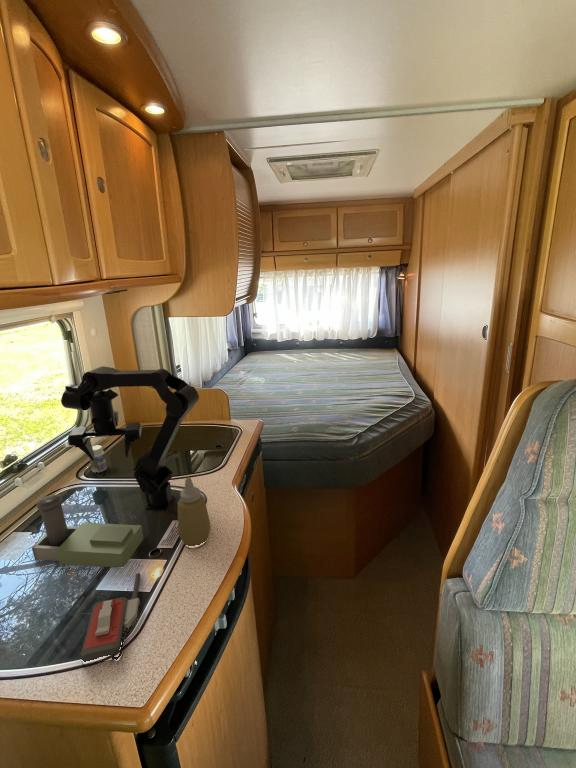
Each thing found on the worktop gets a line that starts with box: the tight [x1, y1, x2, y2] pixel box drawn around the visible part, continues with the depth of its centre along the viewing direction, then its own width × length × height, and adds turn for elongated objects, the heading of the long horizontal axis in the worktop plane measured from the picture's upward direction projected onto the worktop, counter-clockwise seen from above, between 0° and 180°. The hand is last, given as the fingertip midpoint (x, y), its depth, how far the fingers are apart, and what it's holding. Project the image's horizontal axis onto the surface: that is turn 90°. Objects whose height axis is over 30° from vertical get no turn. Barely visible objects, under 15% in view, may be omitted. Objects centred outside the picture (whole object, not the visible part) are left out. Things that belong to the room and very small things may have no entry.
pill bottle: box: [88, 444, 108, 473], centre depth 131 cm, size 5×5×8 cm
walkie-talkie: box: [80, 572, 141, 662], centre depth 75 cm, size 9×4×20 cm
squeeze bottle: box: [177, 477, 212, 546], centre depth 94 cm, size 8×8×18 cm
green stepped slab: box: [31, 522, 144, 568], centre depth 94 cm, size 23×10×5 cm, turn 84°
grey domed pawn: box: [36, 493, 69, 547], centre depth 93 cm, size 5×5×14 cm
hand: (110, 458), depth 113 cm, fingers open, 9 cm apart
